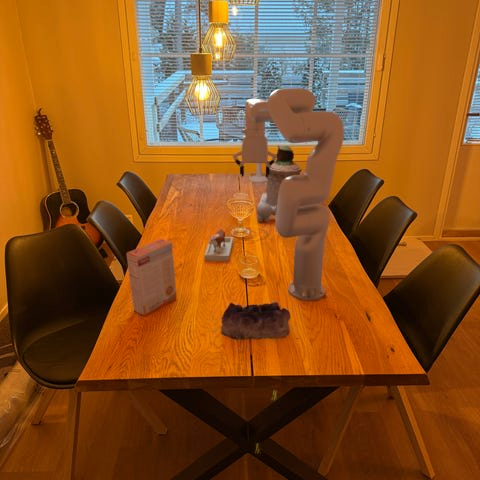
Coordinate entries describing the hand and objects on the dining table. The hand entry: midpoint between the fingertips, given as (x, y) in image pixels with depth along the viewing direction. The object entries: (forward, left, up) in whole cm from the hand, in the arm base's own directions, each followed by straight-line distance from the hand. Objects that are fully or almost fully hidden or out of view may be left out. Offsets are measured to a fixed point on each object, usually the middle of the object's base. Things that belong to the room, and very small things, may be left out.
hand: (254, 176), depth 176 cm
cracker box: (-50, +30, -31) cm, 66 cm away
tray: (-7, +14, -30) cm, 34 cm away
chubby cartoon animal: (+30, -6, -31) cm, 43 cm away
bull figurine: (-8, +15, -30) cm, 34 cm away
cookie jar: (+56, -13, -31) cm, 65 cm away
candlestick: (+103, +2, -31) cm, 107 cm away
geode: (-62, -3, -31) cm, 70 cm away
